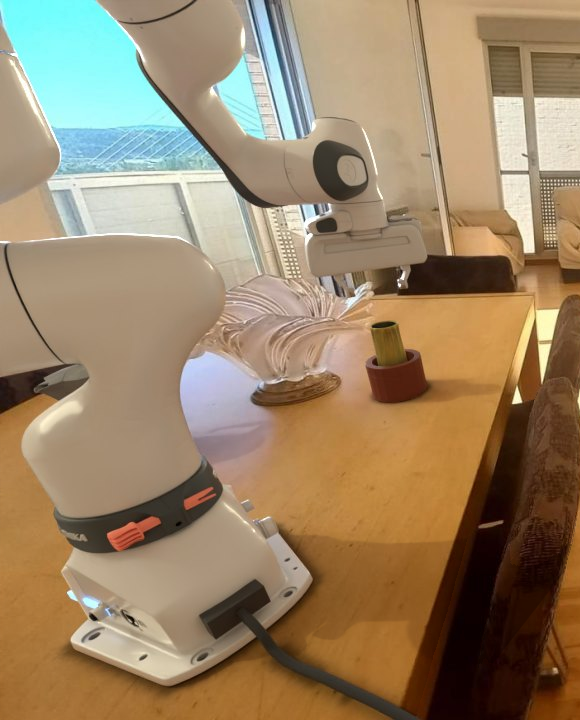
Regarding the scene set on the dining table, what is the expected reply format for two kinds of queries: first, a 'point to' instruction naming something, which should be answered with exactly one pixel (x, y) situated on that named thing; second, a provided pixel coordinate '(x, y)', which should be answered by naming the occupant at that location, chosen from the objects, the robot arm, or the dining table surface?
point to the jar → (397, 378)
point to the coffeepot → (63, 382)
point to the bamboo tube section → (388, 343)
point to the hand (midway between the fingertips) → (378, 292)
